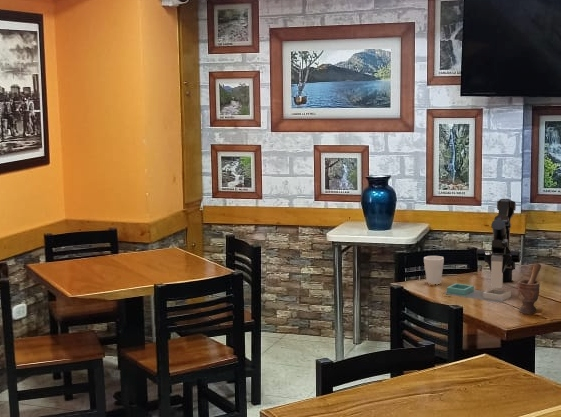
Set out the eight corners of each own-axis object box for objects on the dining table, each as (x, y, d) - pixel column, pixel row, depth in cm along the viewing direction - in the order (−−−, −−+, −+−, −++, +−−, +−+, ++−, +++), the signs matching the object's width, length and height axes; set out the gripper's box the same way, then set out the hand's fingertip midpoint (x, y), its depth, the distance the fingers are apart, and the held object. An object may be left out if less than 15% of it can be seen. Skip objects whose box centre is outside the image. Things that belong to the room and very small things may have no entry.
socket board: (442, 295, 370) (442, 288, 369) (457, 289, 380) (457, 282, 380) (500, 304, 352) (501, 297, 351) (514, 297, 363) (514, 290, 362)
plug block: (492, 285, 362) (492, 254, 360) (502, 285, 361) (502, 255, 359) (491, 287, 358) (491, 256, 356) (501, 288, 357) (501, 257, 354)
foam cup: (442, 281, 395) (442, 255, 393) (444, 286, 386) (444, 259, 384) (423, 281, 396) (423, 255, 394) (424, 286, 387) (424, 260, 385)
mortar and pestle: (521, 306, 348) (522, 261, 345) (542, 308, 344) (543, 262, 341) (515, 313, 338) (516, 266, 335) (536, 316, 334) (537, 268, 331)
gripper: (476, 231, 363) (473, 261, 354) (520, 233, 356) (517, 263, 348) (479, 245, 371) (475, 274, 363) (521, 247, 365) (519, 276, 356)
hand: (496, 271), depth 357 cm, fingers closed on plug block, 4 cm apart
